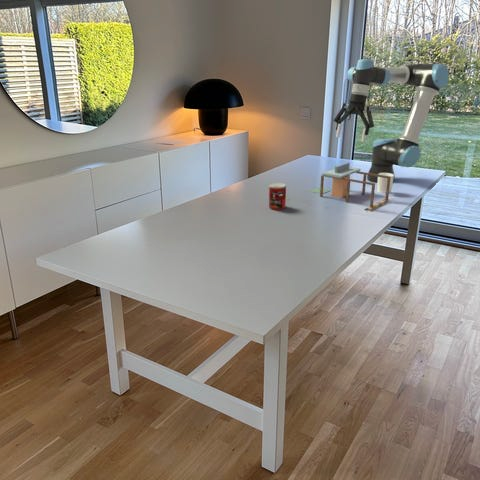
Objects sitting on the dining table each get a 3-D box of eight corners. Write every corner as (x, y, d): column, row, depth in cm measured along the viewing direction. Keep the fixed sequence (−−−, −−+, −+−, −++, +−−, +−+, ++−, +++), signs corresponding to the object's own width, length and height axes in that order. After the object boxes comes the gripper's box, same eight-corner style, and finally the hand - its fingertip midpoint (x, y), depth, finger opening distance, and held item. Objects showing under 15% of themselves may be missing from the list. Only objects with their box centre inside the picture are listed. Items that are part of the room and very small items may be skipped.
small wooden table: (322, 187, 253) (323, 164, 248) (389, 201, 229) (392, 176, 225) (301, 196, 239) (302, 171, 234) (370, 211, 216) (372, 184, 211)
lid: (342, 167, 241) (343, 160, 239) (360, 170, 235) (361, 162, 233) (322, 174, 228) (323, 166, 226) (340, 178, 221) (341, 169, 220)
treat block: (338, 192, 239) (339, 173, 236) (348, 194, 236) (350, 175, 232) (331, 195, 235) (333, 175, 231) (342, 197, 231) (343, 177, 228)
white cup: (388, 196, 237) (390, 177, 233) (373, 194, 241) (375, 175, 238) (394, 193, 243) (396, 174, 239) (379, 190, 247) (381, 172, 243)
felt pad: (317, 188, 248) (317, 187, 248) (330, 190, 243) (330, 190, 243) (308, 191, 242) (308, 190, 242) (322, 194, 237) (322, 193, 237)
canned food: (266, 208, 220) (266, 186, 216) (273, 204, 227) (273, 182, 223) (281, 211, 217) (281, 188, 213) (287, 206, 223) (288, 183, 219)
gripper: (332, 90, 227) (324, 135, 233) (380, 96, 212) (370, 143, 218) (339, 92, 232) (331, 135, 238) (387, 97, 218) (377, 143, 224)
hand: (350, 139), depth 228 cm, fingers open, 13 cm apart
